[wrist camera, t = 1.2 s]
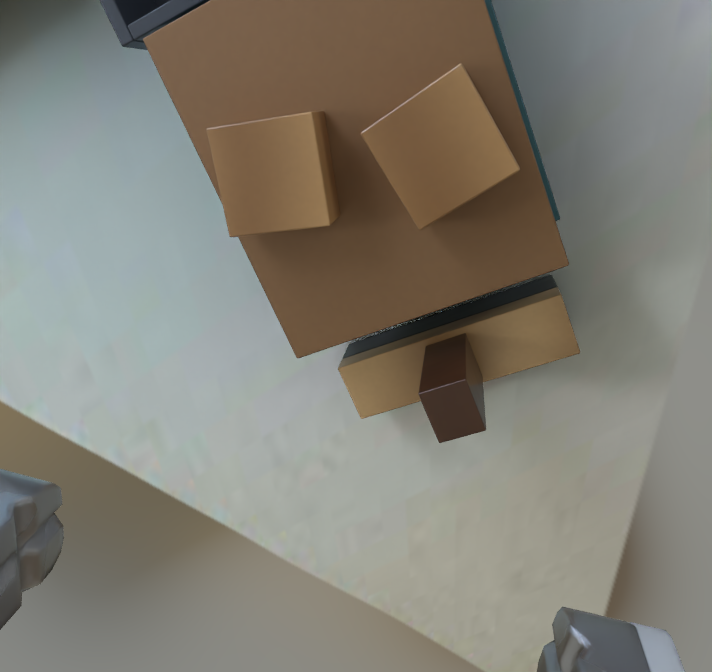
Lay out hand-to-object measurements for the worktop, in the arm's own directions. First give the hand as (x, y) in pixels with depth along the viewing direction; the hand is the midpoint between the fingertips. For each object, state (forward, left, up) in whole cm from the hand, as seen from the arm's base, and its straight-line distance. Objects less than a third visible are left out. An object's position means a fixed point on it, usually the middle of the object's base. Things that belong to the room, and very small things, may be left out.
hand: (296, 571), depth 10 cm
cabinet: (0, -5, -22) cm, 23 cm away
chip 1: (+3, -6, -16) cm, 17 cm away
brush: (0, +5, -22) cm, 23 cm away
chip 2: (-3, -4, -16) cm, 17 cm away
